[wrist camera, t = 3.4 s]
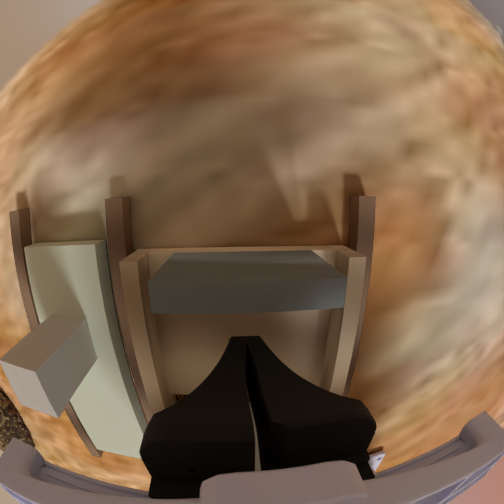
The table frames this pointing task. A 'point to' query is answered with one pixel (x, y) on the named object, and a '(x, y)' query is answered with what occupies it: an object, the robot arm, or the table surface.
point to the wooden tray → (241, 311)
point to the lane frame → (123, 247)
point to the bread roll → (12, 424)
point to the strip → (77, 347)
